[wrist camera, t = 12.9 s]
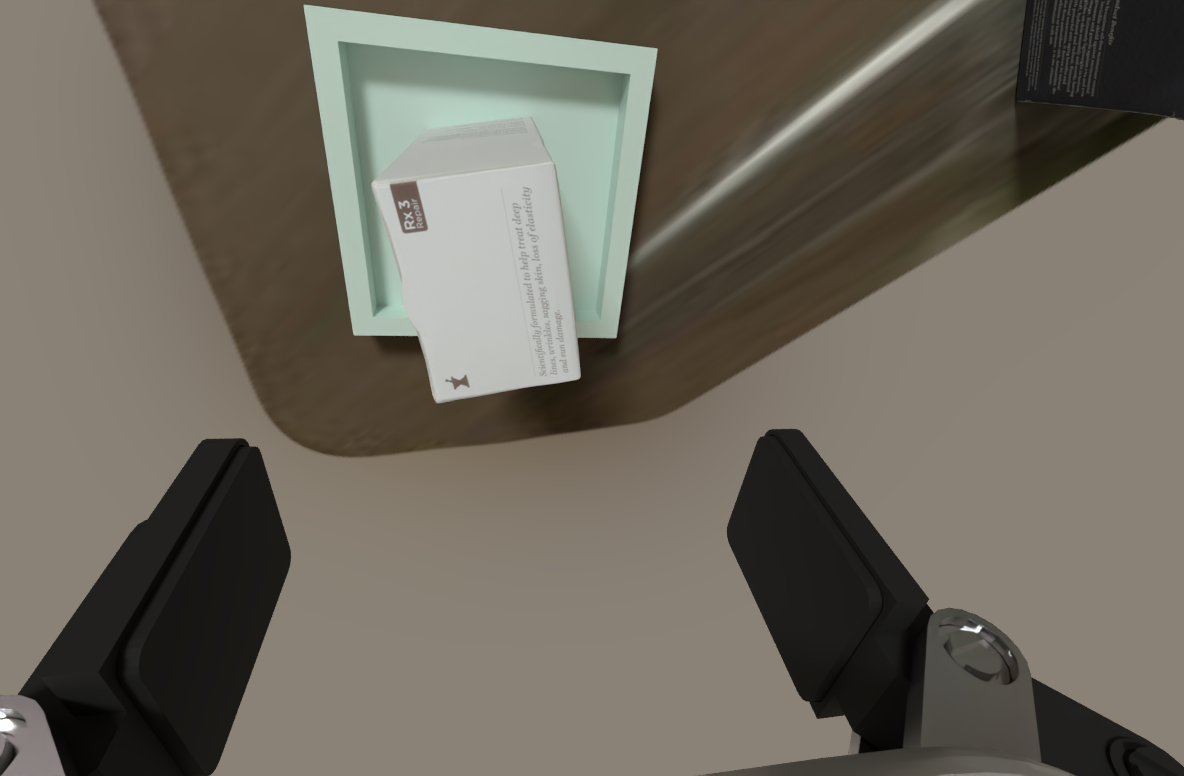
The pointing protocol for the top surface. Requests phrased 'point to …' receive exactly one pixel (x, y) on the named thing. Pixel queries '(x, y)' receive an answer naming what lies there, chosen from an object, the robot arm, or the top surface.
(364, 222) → the tray
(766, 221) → the top surface
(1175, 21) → the small box
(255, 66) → the top surface
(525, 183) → the skincare box
